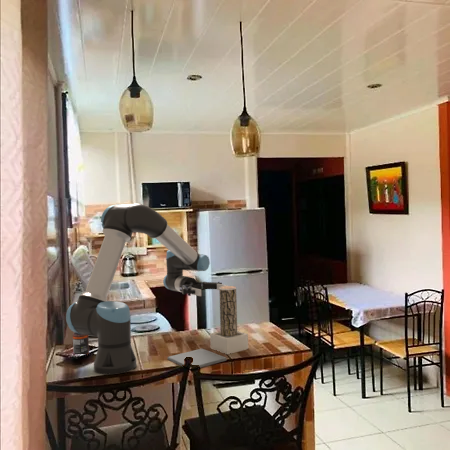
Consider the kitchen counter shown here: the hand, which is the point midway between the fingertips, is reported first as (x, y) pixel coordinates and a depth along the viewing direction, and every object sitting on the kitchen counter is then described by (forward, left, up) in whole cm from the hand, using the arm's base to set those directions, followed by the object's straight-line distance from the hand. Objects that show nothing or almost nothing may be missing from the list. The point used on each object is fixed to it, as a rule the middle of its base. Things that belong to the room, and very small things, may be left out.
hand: (213, 290), depth 198 cm
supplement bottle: (-49, +23, -23) cm, 59 cm away
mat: (-18, -13, -22) cm, 32 cm away
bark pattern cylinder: (0, -10, -23) cm, 25 cm away
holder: (0, -10, -22) cm, 24 cm away
